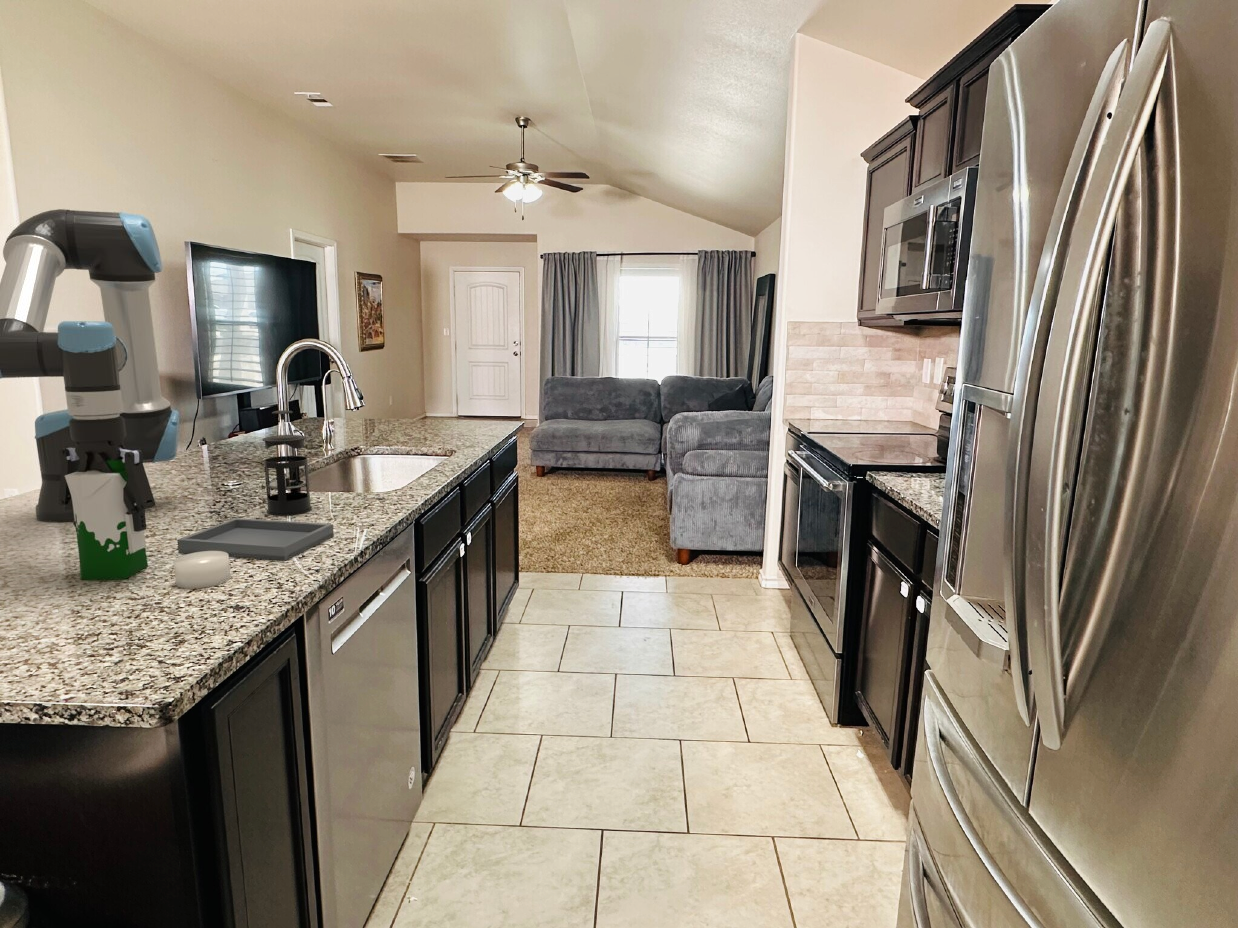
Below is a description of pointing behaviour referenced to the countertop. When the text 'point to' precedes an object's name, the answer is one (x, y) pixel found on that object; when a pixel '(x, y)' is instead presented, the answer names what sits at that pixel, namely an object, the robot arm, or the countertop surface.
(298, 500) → the french press
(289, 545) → the tray
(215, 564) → the cream glossy pebble
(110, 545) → the soya milk
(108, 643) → the countertop surface
